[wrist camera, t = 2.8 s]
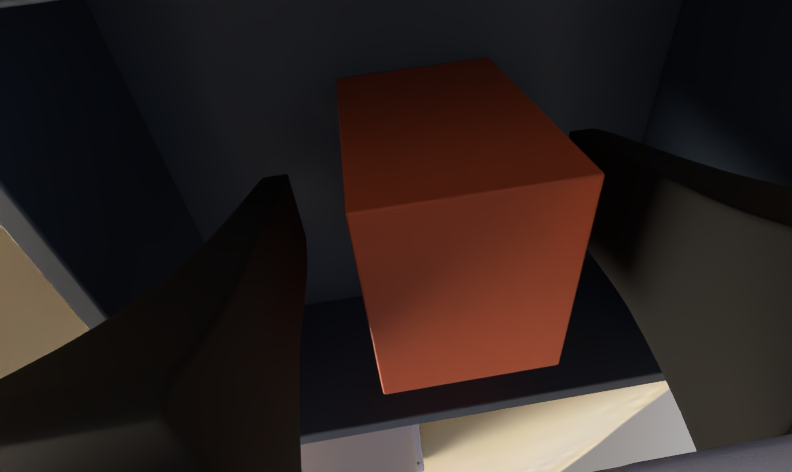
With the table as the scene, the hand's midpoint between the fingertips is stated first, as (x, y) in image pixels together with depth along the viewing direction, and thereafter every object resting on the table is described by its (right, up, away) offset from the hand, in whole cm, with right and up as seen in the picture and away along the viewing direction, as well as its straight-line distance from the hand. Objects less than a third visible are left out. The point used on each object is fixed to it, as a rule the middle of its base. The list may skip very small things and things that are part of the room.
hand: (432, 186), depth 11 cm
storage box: (0, +1, +2) cm, 2 cm away
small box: (0, +1, +1) cm, 2 cm away
